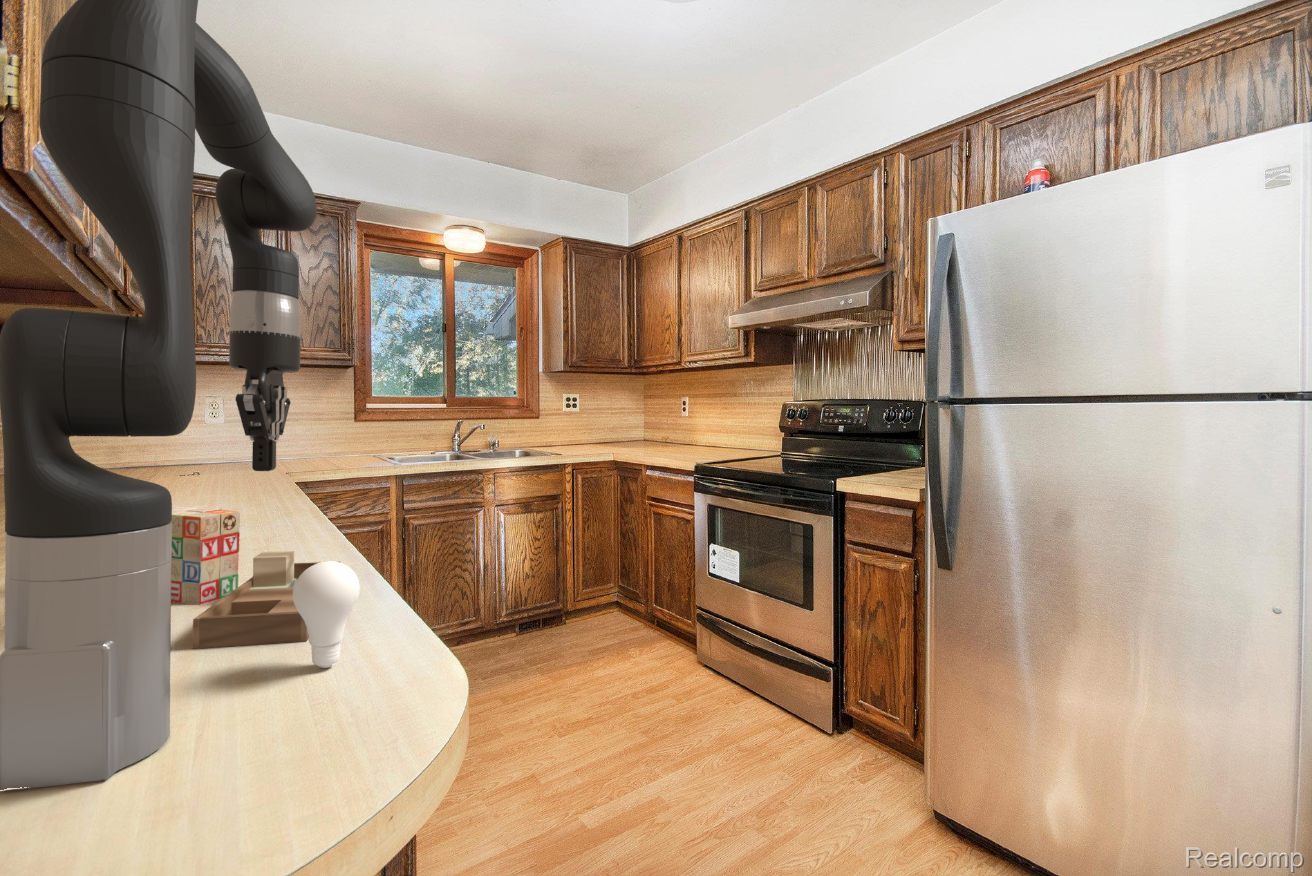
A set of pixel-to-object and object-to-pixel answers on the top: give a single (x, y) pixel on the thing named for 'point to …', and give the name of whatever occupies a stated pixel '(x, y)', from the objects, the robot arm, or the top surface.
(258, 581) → the beech block
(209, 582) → the stack of blocks
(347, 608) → the lightbulb
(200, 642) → the board
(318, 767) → the top surface
